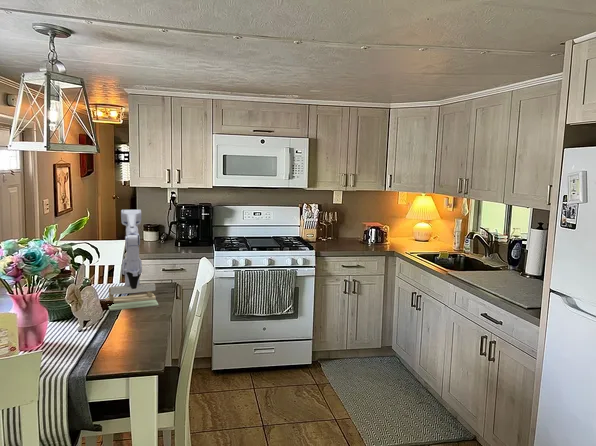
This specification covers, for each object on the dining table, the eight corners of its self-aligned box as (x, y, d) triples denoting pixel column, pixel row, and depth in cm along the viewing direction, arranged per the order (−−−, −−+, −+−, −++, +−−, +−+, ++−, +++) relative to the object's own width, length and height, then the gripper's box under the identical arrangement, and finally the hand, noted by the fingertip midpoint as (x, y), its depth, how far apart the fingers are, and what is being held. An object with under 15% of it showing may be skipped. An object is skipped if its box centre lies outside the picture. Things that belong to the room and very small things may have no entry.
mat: (108, 305, 228) (108, 304, 228) (155, 300, 237) (155, 299, 237) (109, 310, 221) (109, 309, 220) (158, 305, 230) (158, 304, 230)
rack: (105, 300, 236) (104, 287, 235) (153, 295, 246) (153, 283, 245) (106, 304, 230) (106, 291, 229) (155, 299, 240) (155, 286, 239)
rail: (111, 294, 222) (111, 288, 222) (110, 293, 225) (110, 286, 225) (155, 290, 231) (155, 284, 231) (154, 289, 234) (154, 283, 233)
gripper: (122, 257, 231) (122, 284, 232) (125, 263, 218) (126, 292, 220) (137, 256, 234) (137, 283, 236) (142, 262, 221) (142, 290, 223)
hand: (133, 287), depth 228 cm, fingers closed on rail, 3 cm apart
